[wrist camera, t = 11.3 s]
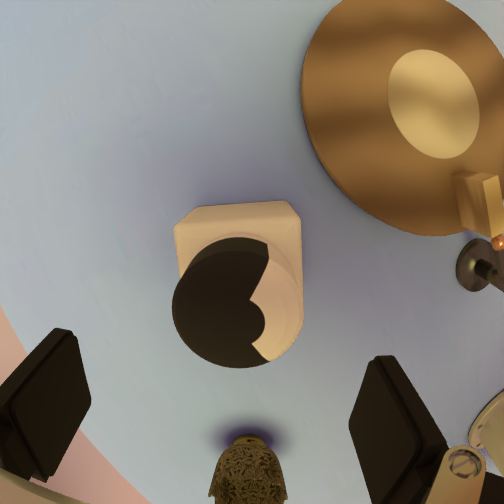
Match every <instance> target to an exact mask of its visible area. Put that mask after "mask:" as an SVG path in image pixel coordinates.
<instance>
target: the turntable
mask: <svg viewBox="0 0 504 504" xmlns="http://www.w3.org/2000/svg"><path fill="white" fill-rule="evenodd" d="M300 91H301V106H302V111H303V116H304V121H305V125H306V128H307V131H308V135H309V138H310V141H311V143H312V145H313V147H314V149H315V152H316V154H317V156H318V158H319V160H320V161H321V163H322V165H323V166H324V168H325V170H326V171H327V173H328V174H329V176H330V177H331V178H332V179H333V181H334V182H335V183H336V185H337V186H338V187H339V188H340V189H341V190H342V191H343V192H344V193H345V194H346V195H347V196H348V197H349V198H350V200H352V201H353V202H354V203H355V204H357V205H358V206H359V207H360V208H362V209H363V210H364V211H366V212H368V213H369V214H371V215H372V216H374V217H376V218H377V219H379V220H381V221H383V222H385V223H387V224H389V225H391V226H393V227H396V228H398V229H400V230H402V231H406V232H410V233H413V234H417V235H425V236H446V235H450V234H455V233H459V232H462V231H464V230H467V229H470V230H473V231H475V232H478V233H480V234H482V235H485V236H487V237H489V238H494V237H496V236H497V235H499V234H501V233H503V232H504V207H503V201H502V200H503V199H504V58H503V57H502V55H501V54H500V52H499V50H498V49H497V47H496V46H495V44H494V43H493V42H492V40H491V39H490V38H489V37H488V35H487V34H486V33H485V32H484V31H483V30H482V29H481V28H480V27H479V25H478V24H477V23H476V22H475V21H473V20H472V19H471V18H470V17H469V16H468V15H466V14H465V13H464V12H463V11H461V10H460V9H458V8H457V7H455V6H454V5H452V4H451V3H449V2H447V1H445V0H343V1H341V2H340V3H339V4H338V5H337V6H335V7H334V8H333V9H332V10H331V11H330V12H329V13H328V15H327V16H326V17H325V18H324V19H323V20H322V22H321V24H320V26H319V27H318V29H317V31H316V32H315V34H314V36H313V38H312V40H311V42H310V45H309V47H308V50H307V52H306V55H305V58H304V63H303V68H302V72H301V87H300Z"/></svg>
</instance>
